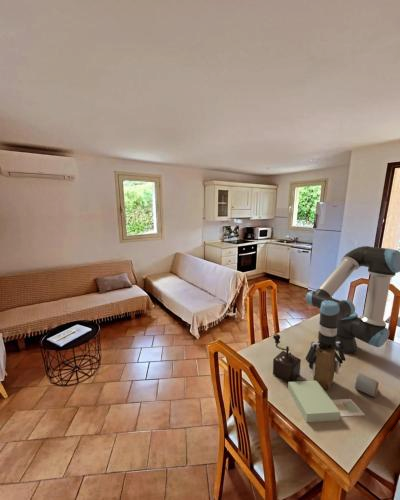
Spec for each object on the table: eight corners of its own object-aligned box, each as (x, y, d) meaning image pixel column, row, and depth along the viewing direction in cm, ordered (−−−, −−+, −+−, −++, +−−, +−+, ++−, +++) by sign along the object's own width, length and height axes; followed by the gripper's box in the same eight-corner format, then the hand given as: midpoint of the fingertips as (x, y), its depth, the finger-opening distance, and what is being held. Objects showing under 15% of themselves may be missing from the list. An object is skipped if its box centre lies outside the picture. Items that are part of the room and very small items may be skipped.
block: (327, 392, 104) (331, 355, 100) (311, 384, 109) (313, 347, 106) (335, 380, 111) (338, 344, 107) (319, 372, 116) (322, 338, 113)
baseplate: (315, 387, 107) (316, 380, 106) (339, 420, 90) (340, 411, 90) (287, 389, 107) (288, 381, 106) (306, 422, 90) (306, 414, 89)
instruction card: (350, 399, 100) (350, 398, 100) (364, 415, 92) (364, 414, 92) (329, 400, 100) (329, 399, 100) (341, 416, 92) (341, 416, 92)
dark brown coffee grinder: (301, 374, 116) (303, 343, 113) (291, 385, 109) (293, 353, 106) (274, 360, 127) (275, 331, 124) (263, 369, 120) (264, 339, 117)
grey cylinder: (375, 401, 99) (378, 386, 98) (354, 391, 105) (355, 377, 103) (378, 387, 107) (380, 373, 105) (357, 379, 112) (359, 365, 111)
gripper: (307, 338, 101) (304, 380, 105) (357, 336, 102) (352, 377, 106) (299, 330, 108) (297, 369, 112) (346, 327, 109) (342, 366, 113)
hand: (324, 373), depth 109 cm, fingers closed on block, 11 cm apart
